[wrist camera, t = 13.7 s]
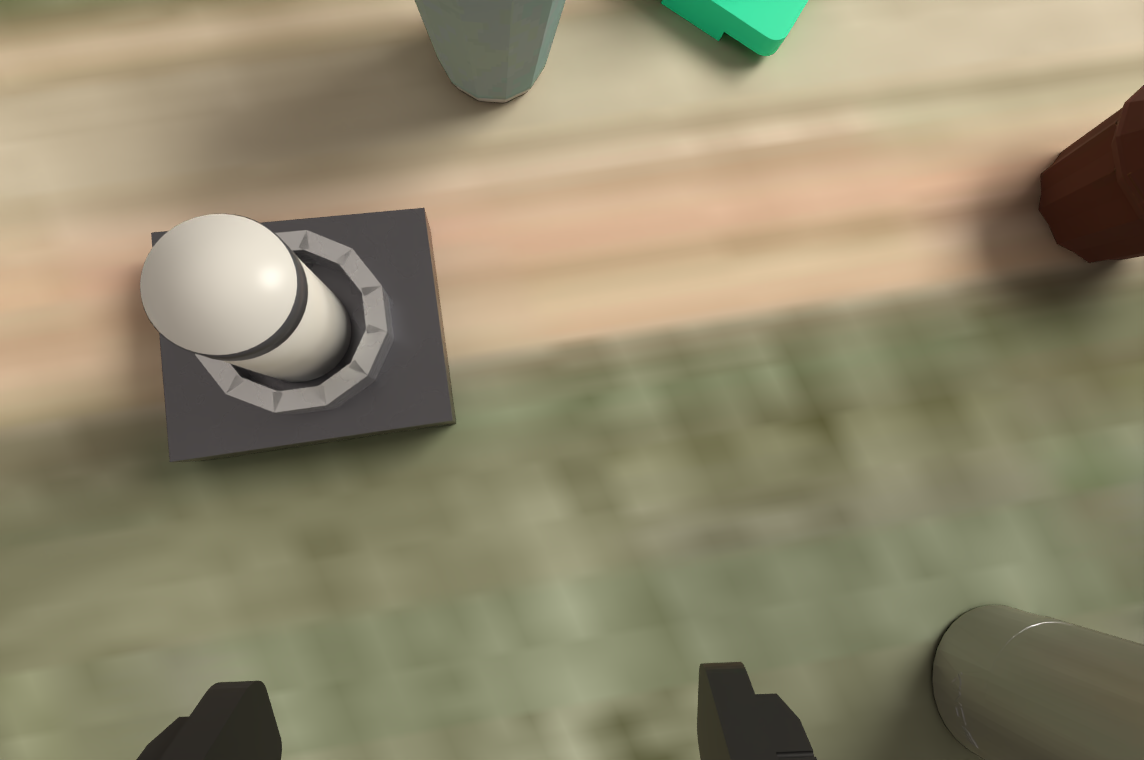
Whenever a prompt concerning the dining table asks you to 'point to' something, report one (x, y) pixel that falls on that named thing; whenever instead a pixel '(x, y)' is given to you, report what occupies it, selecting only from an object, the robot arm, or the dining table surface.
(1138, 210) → the muffin
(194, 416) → the grey ring holder base
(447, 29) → the disposable coffee cup
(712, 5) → the camera mount
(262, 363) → the white banded cylinder
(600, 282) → the dining table surface
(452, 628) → the dining table surface
